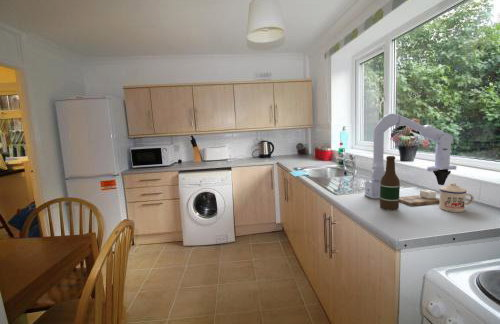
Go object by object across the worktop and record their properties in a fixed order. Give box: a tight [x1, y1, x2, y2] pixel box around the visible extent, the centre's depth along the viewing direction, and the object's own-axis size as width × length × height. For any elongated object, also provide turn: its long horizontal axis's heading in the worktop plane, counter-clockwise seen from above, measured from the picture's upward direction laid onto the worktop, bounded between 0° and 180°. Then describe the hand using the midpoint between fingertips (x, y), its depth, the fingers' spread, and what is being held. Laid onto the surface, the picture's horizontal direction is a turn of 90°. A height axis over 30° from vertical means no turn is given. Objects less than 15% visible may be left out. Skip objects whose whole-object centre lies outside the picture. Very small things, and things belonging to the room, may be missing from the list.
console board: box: [399, 194, 440, 207], centre depth 121 cm, size 18×10×2 cm, turn 99°
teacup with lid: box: [438, 182, 475, 213], centre depth 107 cm, size 12×9×12 cm
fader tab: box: [419, 189, 437, 199], centre depth 122 cm, size 4×5×3 cm
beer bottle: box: [379, 155, 401, 211], centre depth 112 cm, size 8×8×24 cm
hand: (440, 184), depth 122 cm, fingers closed
